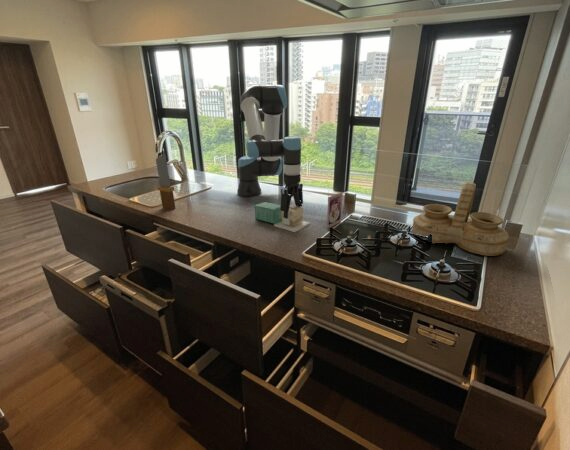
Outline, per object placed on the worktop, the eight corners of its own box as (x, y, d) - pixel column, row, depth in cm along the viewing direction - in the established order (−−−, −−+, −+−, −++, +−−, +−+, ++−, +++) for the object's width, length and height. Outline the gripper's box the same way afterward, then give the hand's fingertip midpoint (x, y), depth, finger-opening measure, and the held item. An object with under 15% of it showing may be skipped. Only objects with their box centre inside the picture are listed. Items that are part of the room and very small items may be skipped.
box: (275, 224, 139) (274, 209, 136) (255, 219, 147) (253, 205, 144) (285, 220, 144) (284, 205, 141) (265, 215, 152) (264, 201, 150)
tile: (289, 218, 148) (289, 217, 148) (309, 224, 141) (309, 222, 141) (274, 226, 139) (274, 224, 139) (294, 232, 132) (294, 230, 132)
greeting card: (328, 229, 135) (330, 197, 129) (315, 225, 140) (316, 194, 134) (342, 222, 143) (344, 192, 137) (329, 218, 148) (330, 189, 142)
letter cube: (302, 221, 140) (302, 207, 137) (293, 226, 135) (293, 212, 132) (290, 218, 144) (290, 204, 141) (281, 223, 139) (281, 208, 136)
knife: (177, 208, 164) (168, 153, 152) (171, 210, 161) (162, 154, 149) (166, 206, 167) (157, 151, 156) (161, 208, 164) (151, 152, 153)
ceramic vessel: (405, 239, 125) (414, 181, 115) (416, 226, 138) (426, 173, 129) (503, 263, 106) (524, 196, 96) (505, 245, 119) (524, 184, 110)
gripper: (298, 168, 140) (297, 214, 149) (271, 176, 125) (272, 226, 134) (311, 170, 136) (310, 217, 145) (285, 179, 121) (285, 230, 130)
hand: (292, 221), depth 139 cm, fingers closed on letter cube, 7 cm apart
